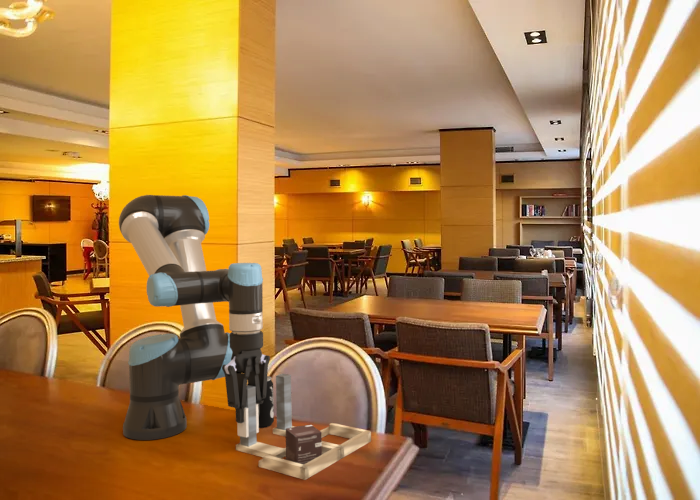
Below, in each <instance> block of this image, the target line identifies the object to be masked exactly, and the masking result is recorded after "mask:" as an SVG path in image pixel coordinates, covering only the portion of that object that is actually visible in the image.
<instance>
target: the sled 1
mask: <svg viewBox="0 0 700 500" xmlns="http://www.w3.org/2000/svg"><path fill="white" fill-rule="evenodd" d="M239 403H240V402H239ZM245 407H246V408H248V426H249V437H247V438H246V437H242V436H239V443H237V444H235V451H238V452H241V453H246V454H248V455H249V454H250V455H254V456H256V457H261V459H260V460H258V467H259V468H262V469H266V470H269V471H274V472H276V473H280V474H283V475H286V476H290V477H294V478H296V479H301V480H304V481H306V480H307V479H309V478H310V477H313V476H314V475H316V474H318V473H320V472H321V471H323V470H325V469H326V468H328V467H330V466H331V465H333V464H335V463H336V462H339V460H341V458H340V448H338V447H333V446H329V445H325V444H322V455H321V456H319V457H317V458H315V459H313V460H311V461H310V462H308V463H306V464H304V465H303V464H299V463H296V462H292V461H288V460H286V447H279V446H275V445H273V444H272V445H271V444H267V443H264V442H260V441H258V440H257V433H256V387H255V386H250V385H247V391H246V405H245ZM284 457H285V459H284Z"/></svg>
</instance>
